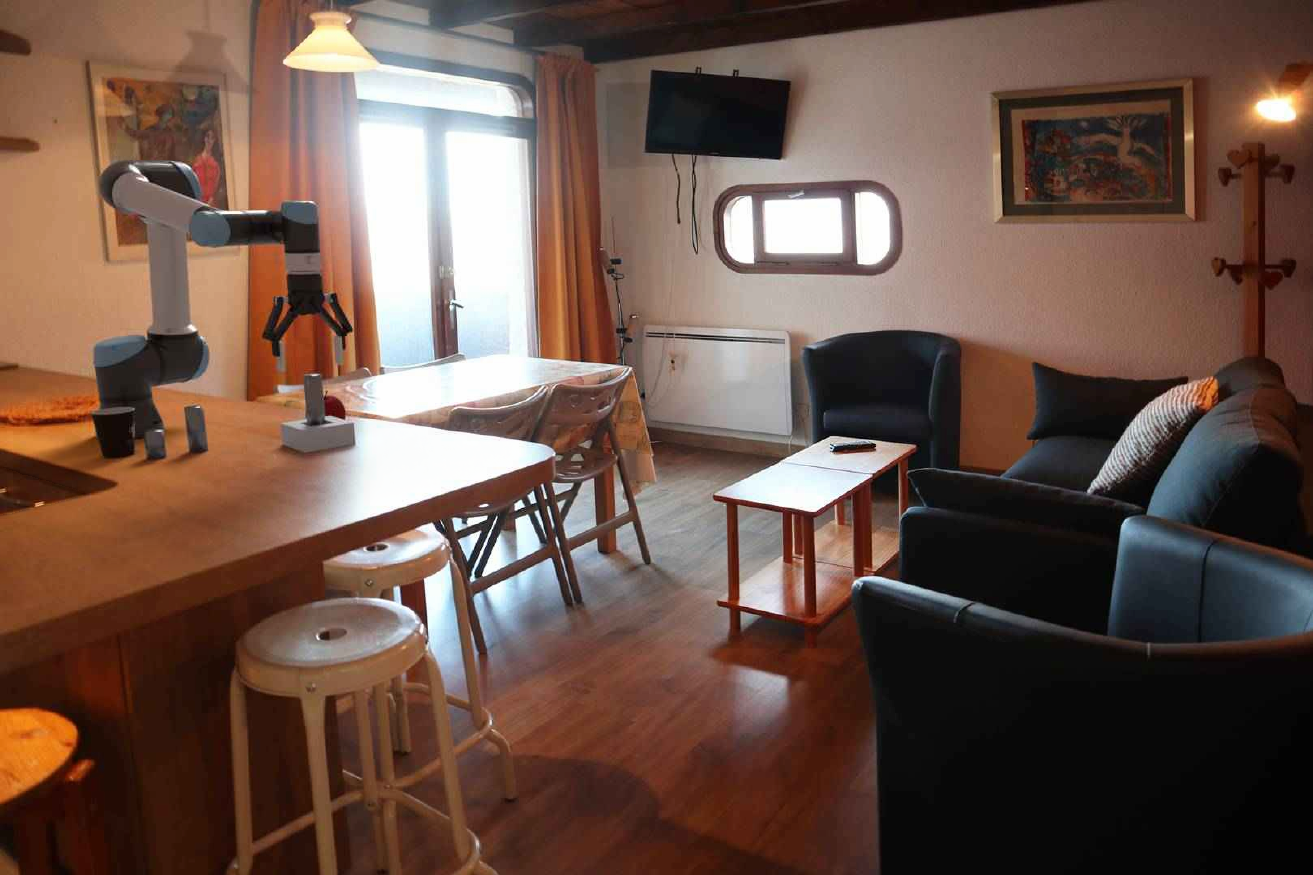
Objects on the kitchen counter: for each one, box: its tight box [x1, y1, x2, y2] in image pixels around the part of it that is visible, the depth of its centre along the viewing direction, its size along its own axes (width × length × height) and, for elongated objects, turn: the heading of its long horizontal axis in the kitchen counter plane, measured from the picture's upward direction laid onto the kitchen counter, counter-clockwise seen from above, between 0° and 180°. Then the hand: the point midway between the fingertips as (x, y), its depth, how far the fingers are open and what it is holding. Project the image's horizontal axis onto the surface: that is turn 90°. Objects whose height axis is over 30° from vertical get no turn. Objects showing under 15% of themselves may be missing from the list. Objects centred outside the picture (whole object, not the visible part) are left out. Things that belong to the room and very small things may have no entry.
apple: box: [305, 390, 347, 420], centre depth 259 cm, size 9×9×10 cm
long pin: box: [302, 373, 326, 426], centre depth 244 cm, size 4×4×16 cm
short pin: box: [143, 429, 168, 461], centre depth 235 cm, size 4×4×6 cm
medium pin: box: [183, 404, 209, 454], centre depth 240 cm, size 4×4×10 cm
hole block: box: [280, 416, 357, 454], centre depth 245 cm, size 12×12×5 cm
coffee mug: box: [91, 407, 136, 459], centre depth 239 cm, size 12×9×10 cm
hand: (311, 367), depth 242 cm, fingers open, 13 cm apart
